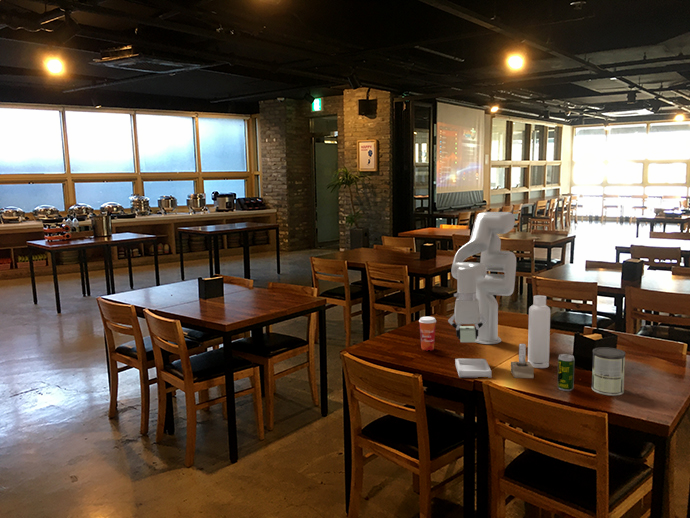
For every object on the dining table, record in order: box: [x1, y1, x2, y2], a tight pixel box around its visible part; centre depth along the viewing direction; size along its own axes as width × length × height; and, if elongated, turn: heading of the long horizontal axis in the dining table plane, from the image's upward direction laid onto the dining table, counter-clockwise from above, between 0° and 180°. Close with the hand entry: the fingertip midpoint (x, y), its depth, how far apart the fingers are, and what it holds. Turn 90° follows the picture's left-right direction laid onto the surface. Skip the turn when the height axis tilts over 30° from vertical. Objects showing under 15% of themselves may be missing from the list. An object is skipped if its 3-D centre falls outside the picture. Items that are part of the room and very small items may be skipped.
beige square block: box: [510, 361, 535, 379], centre depth 209 cm, size 7×7×4 cm
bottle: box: [527, 294, 551, 369], centre depth 219 cm, size 8×8×28 cm
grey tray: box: [454, 358, 492, 379], centre depth 215 cm, size 15×12×2 cm
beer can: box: [556, 353, 575, 392], centre depth 194 cm, size 5×5×12 cm
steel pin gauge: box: [518, 343, 527, 366], centre depth 209 cm, size 2×2×12 cm
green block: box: [459, 325, 477, 343], centre depth 227 cm, size 6×6×5 cm
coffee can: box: [591, 346, 627, 397], centre depth 191 cm, size 10×10×14 cm
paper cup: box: [418, 316, 437, 352], centre depth 245 cm, size 8×8×14 cm
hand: (467, 337), depth 227 cm, fingers closed on green block, 6 cm apart
